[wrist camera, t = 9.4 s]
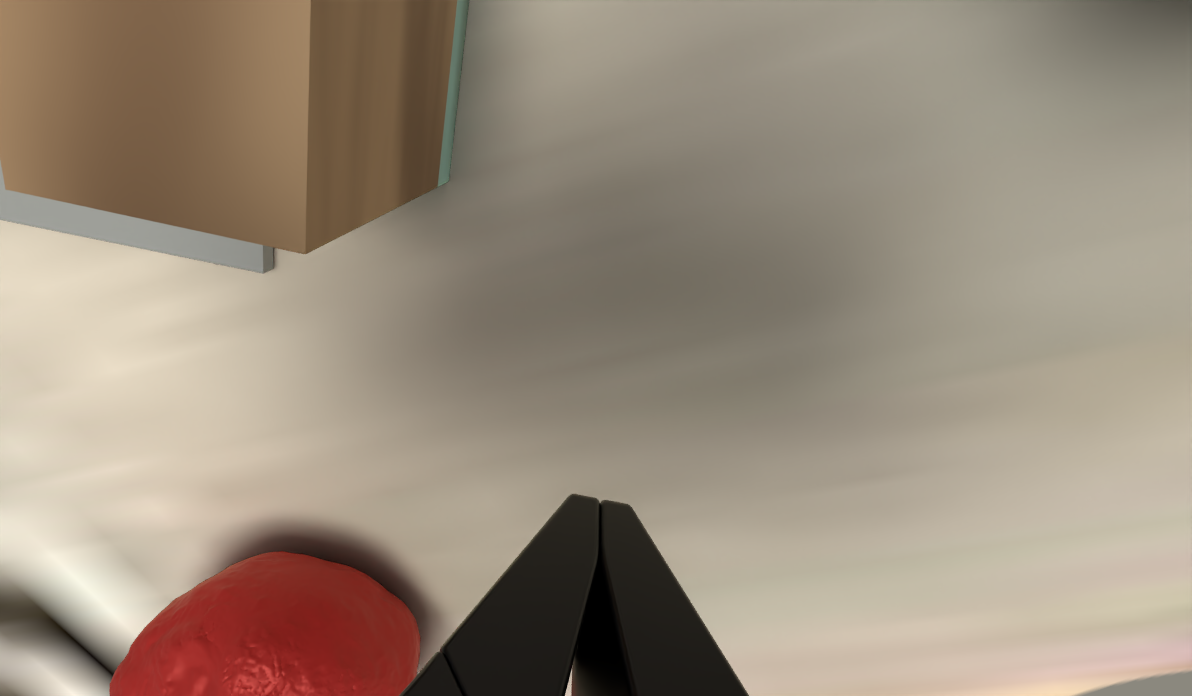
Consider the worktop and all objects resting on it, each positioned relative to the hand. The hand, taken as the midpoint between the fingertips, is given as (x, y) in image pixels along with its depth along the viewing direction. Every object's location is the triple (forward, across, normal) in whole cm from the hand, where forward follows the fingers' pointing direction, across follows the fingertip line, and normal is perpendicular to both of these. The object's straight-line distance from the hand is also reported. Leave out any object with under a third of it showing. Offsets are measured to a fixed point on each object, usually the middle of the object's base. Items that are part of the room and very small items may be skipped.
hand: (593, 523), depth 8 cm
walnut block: (+12, +8, -5) cm, 15 cm away
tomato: (+12, +9, +17) cm, 23 cm away
